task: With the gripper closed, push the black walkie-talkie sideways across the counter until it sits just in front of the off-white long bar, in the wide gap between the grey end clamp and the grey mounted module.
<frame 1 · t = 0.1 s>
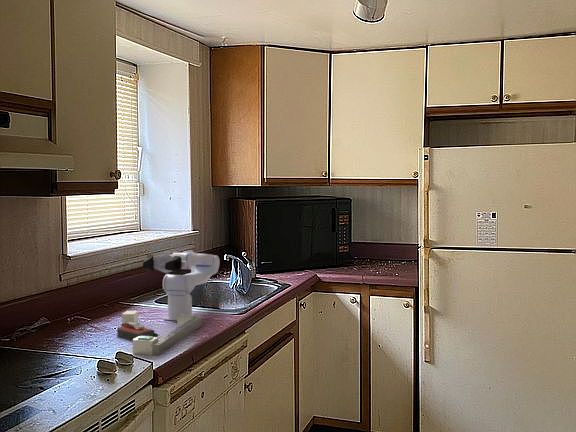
hand: (155, 265, 196), 22 cm above the worktop, tool horizontal, fingers open, 7 cm apart
off-white long bar: (179, 338, 190), on the worktop
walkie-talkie: (132, 336, 195), on the worktop
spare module: (130, 324, 208), on the worktop
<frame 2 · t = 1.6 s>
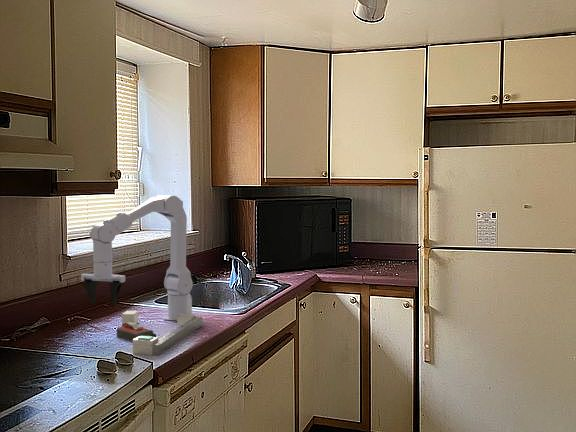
hand: (103, 303, 196), 9 cm above the worktop, tool pointing down, fingers open, 7 cm apart
nothing on the worktop moved.
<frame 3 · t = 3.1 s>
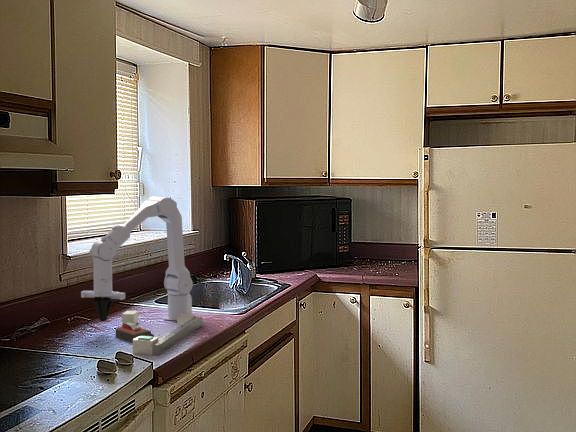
hand: (103, 320, 196), 4 cm above the worktop, tool pointing down, fingers closed
nothing on the worktop moved.
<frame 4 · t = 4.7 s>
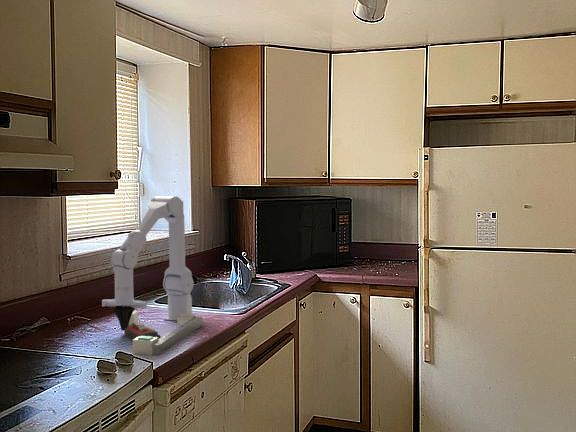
hand: (124, 329, 195), 1 cm above the worktop, tool pointing down, fingers closed
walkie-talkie: (139, 336, 194), on the worktop, touching gripper
everything else where it was.
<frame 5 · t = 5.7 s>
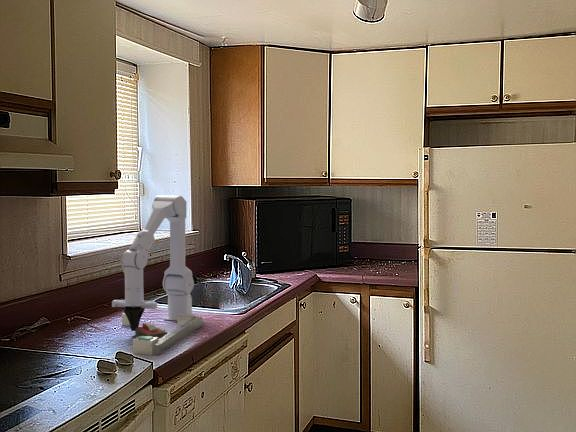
hand: (134, 330, 194), 1 cm above the worktop, tool pointing down, fingers closed
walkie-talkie: (150, 337, 194), on the worktop, touching gripper
everything else where it was.
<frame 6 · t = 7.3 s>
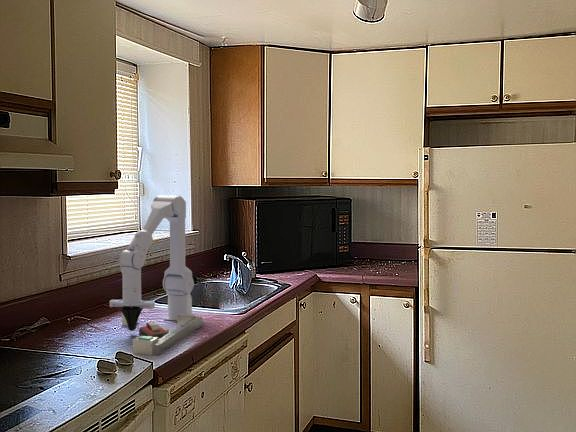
hand: (132, 329, 195), 1 cm above the worktop, tool pointing down, fingers closed
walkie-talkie: (154, 337, 194), on the worktop
everything else where it was.
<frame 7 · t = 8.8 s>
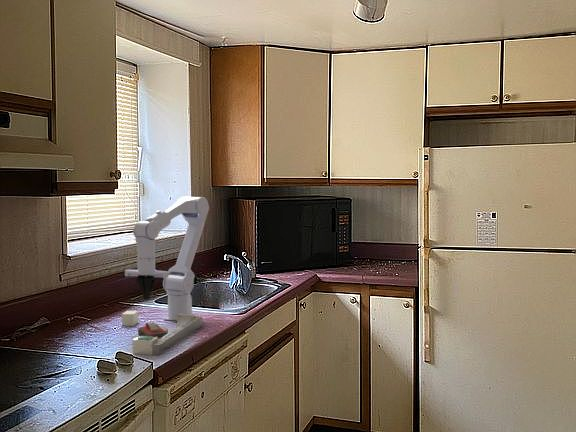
hand: (146, 298, 202), 10 cm above the worktop, tool pointing down, fingers closed
nothing on the worktop moved.
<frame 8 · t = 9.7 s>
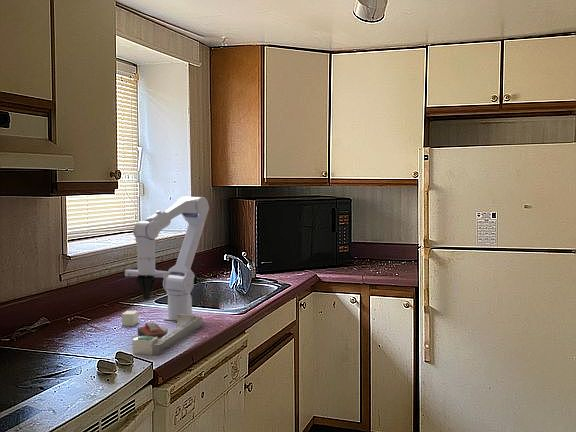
hand: (146, 298, 202), 10 cm above the worktop, tool pointing down, fingers closed
nothing on the worktop moved.
at the end: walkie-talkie inside the target area (3.9 cm from its centre), on the worktop; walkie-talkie moved 6.8 cm from its start; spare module moved 0.2 cm from its start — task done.
